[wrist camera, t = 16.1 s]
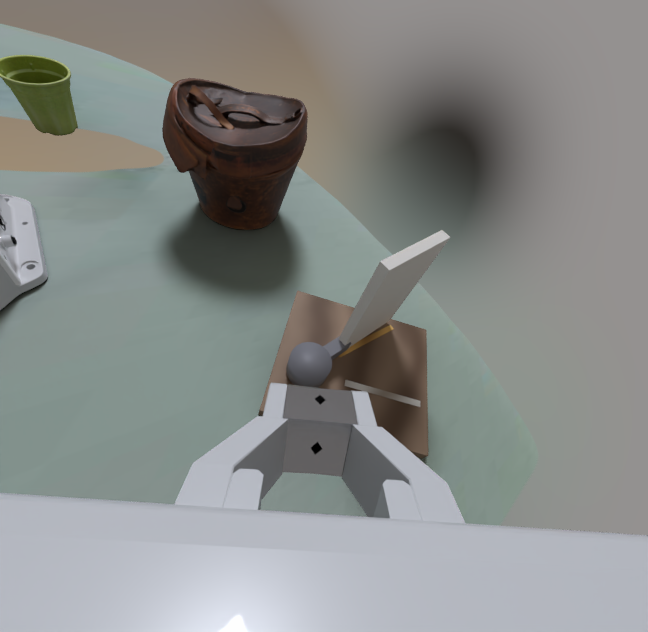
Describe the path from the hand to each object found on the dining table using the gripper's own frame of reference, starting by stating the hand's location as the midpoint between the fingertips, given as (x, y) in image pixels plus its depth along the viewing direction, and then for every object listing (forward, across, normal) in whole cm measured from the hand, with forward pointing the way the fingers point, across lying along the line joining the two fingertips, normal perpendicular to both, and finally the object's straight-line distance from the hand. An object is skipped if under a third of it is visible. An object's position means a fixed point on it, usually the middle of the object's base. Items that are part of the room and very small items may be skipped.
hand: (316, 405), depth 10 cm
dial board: (+28, -7, +15) cm, 33 cm away
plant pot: (+57, +47, -10) cm, 75 cm away
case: (+51, +14, -2) cm, 52 cm away
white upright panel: (+29, -5, +12) cm, 32 cm away
